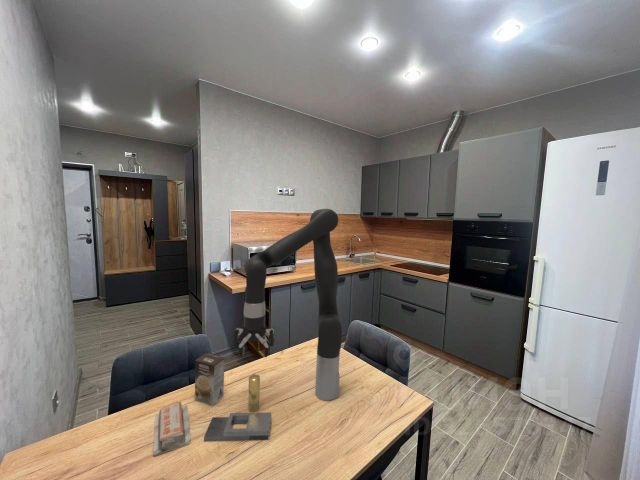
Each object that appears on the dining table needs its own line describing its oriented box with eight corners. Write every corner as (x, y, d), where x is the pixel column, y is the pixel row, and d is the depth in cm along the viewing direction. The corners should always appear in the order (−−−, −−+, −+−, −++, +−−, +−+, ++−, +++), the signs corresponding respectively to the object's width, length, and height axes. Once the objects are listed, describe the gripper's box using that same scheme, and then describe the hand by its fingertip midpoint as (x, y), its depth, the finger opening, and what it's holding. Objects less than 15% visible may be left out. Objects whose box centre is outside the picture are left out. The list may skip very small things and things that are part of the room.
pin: (260, 404, 99) (260, 374, 98) (258, 412, 95) (259, 381, 94) (249, 404, 99) (250, 374, 98) (247, 412, 95) (247, 381, 94)
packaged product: (191, 430, 81) (152, 443, 76) (191, 445, 81) (153, 459, 76) (187, 395, 96) (155, 404, 91) (187, 407, 97) (155, 417, 92)
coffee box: (193, 400, 100) (193, 359, 99) (206, 390, 106) (206, 352, 105) (213, 406, 97) (213, 365, 96) (224, 395, 103) (225, 356, 102)
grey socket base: (271, 420, 92) (271, 412, 91) (268, 439, 84) (268, 430, 83) (212, 421, 90) (212, 413, 90) (203, 441, 82) (204, 432, 82)
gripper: (275, 309, 98) (275, 351, 100) (237, 309, 98) (237, 351, 99) (273, 317, 91) (272, 362, 92) (231, 317, 90) (231, 361, 92)
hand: (254, 356), depth 96 cm, fingers open, 8 cm apart
